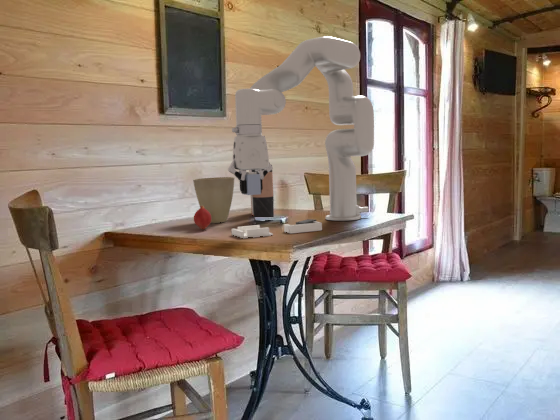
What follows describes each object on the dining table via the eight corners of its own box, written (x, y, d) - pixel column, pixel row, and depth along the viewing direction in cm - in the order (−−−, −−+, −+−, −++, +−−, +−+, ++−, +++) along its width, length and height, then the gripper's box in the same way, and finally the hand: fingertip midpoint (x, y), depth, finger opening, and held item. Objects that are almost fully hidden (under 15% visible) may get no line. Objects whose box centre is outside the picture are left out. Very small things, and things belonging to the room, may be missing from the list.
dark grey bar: (308, 228, 187) (308, 219, 187) (316, 228, 185) (316, 219, 185) (294, 232, 179) (293, 222, 179) (302, 232, 178) (302, 223, 177)
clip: (315, 228, 184) (315, 221, 184) (322, 230, 180) (321, 222, 180) (284, 231, 179) (284, 224, 179) (290, 233, 176) (289, 225, 175)
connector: (254, 193, 176) (253, 171, 176) (260, 194, 172) (260, 172, 171) (242, 194, 175) (241, 172, 174) (248, 195, 170) (247, 172, 170)
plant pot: (232, 218, 220) (230, 176, 218) (240, 222, 205) (238, 177, 204) (192, 221, 216) (190, 178, 214) (198, 225, 201) (195, 179, 200)
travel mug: (271, 221, 206) (269, 165, 204) (251, 221, 208) (248, 165, 206) (276, 218, 214) (274, 164, 212) (256, 218, 215) (254, 165, 213)
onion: (192, 229, 193) (191, 205, 192) (209, 227, 195) (207, 204, 194) (196, 231, 187) (195, 206, 186) (214, 229, 189) (212, 205, 189)
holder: (262, 232, 180) (261, 224, 180) (272, 235, 173) (272, 227, 173) (231, 235, 176) (231, 227, 176) (241, 238, 169) (241, 230, 169)
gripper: (226, 131, 165) (229, 195, 166) (280, 130, 171) (282, 192, 173) (218, 132, 171) (220, 194, 173) (270, 131, 178) (272, 190, 180)
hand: (251, 192), depth 173 cm, fingers closed on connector, 4 cm apart
